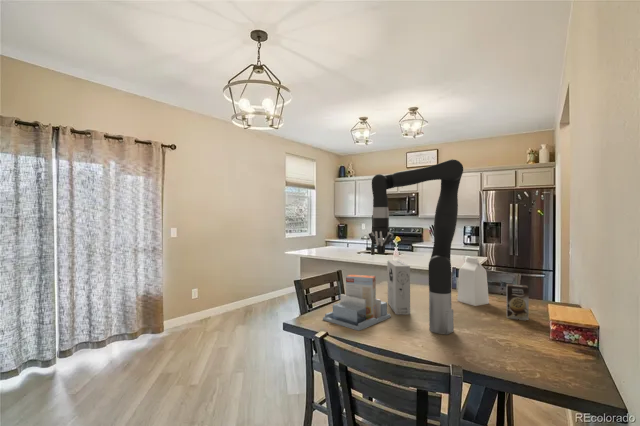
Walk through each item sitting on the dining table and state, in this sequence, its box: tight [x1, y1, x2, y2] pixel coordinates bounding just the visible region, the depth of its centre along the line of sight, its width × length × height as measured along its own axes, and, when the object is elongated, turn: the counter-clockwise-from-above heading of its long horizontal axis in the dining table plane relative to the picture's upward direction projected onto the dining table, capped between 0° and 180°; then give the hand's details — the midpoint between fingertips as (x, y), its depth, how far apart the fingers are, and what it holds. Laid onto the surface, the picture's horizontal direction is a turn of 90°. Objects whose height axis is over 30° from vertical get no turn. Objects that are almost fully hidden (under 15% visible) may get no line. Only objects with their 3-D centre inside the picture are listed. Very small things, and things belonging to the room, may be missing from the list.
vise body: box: [322, 298, 392, 332], centre depth 157 cm, size 22×26×9 cm
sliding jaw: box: [332, 293, 366, 326], centre depth 153 cm, size 19×7×11 cm, turn 46°
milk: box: [456, 256, 490, 307], centre depth 186 cm, size 12×12×26 cm
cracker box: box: [345, 274, 377, 320], centre depth 159 cm, size 14×6×21 cm, turn 65°
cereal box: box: [386, 259, 411, 315], centre depth 174 cm, size 22×8×25 cm, turn 179°
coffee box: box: [506, 283, 530, 321], centre depth 157 cm, size 9×6×16 cm
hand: (381, 253), depth 150 cm, fingers closed
